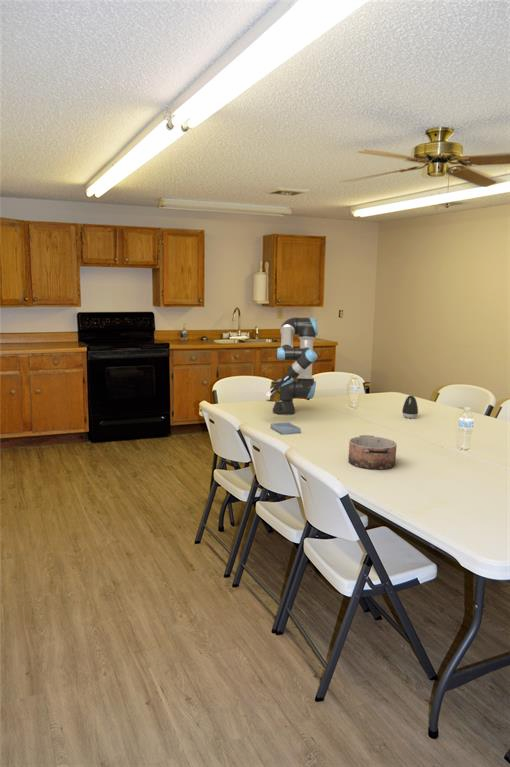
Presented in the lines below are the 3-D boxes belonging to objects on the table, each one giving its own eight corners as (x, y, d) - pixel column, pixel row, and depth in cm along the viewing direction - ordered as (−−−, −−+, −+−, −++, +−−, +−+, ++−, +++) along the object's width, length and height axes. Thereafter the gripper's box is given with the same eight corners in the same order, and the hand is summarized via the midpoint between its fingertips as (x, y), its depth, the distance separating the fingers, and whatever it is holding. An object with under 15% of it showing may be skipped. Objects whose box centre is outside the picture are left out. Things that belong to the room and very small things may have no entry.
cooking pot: (343, 454, 295) (344, 434, 294) (386, 455, 296) (387, 434, 295) (354, 472, 266) (356, 450, 264) (403, 473, 267) (404, 450, 265)
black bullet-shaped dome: (416, 416, 391) (417, 394, 389) (418, 419, 381) (420, 397, 379) (400, 415, 392) (402, 393, 390) (403, 419, 382) (404, 396, 380)
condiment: (282, 401, 355) (283, 382, 353) (271, 402, 350) (271, 382, 348) (275, 399, 361) (276, 380, 359) (264, 400, 356) (265, 381, 354)
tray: (288, 427, 352) (288, 422, 351) (300, 433, 337) (300, 428, 336) (270, 428, 347) (270, 423, 347) (281, 434, 332) (281, 429, 332)
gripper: (297, 376, 341) (269, 402, 347) (302, 372, 359) (275, 396, 365) (288, 367, 341) (260, 392, 347) (293, 363, 359) (267, 387, 366)
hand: (268, 394), depth 356 cm, fingers closed on condiment, 6 cm apart
